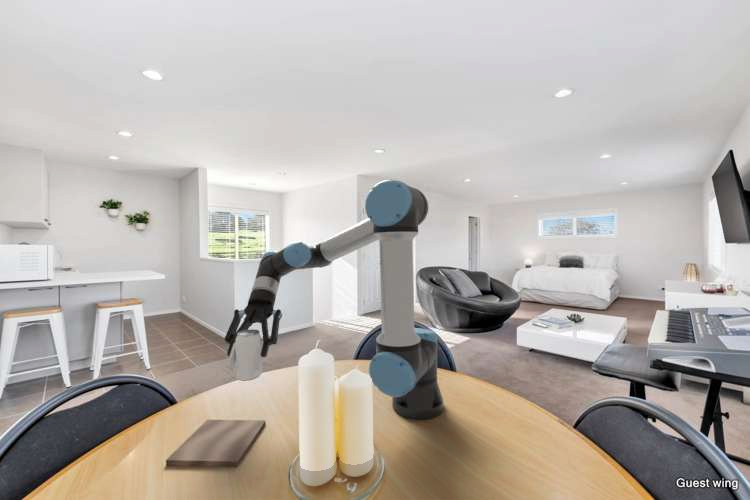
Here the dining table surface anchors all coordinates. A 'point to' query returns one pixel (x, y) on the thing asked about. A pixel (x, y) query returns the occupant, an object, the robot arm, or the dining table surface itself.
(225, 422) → the walnut board
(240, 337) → the can
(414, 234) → the robot arm
